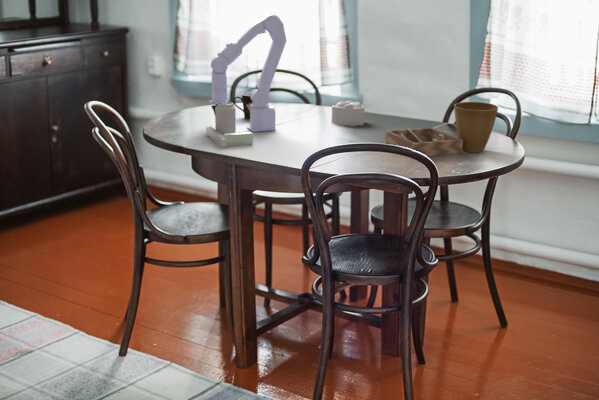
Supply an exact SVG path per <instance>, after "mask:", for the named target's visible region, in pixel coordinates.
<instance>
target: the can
mask: <svg viewBox="0 0 599 400" xmlns="http://www.w3.org/2000/svg"><path fill="white" fill-rule="evenodd" d="M220 103H221V104H220ZM220 103H217V106H216V107H215V114H214V116H215V117H214V118H215V124H214V125H215V130H216V131H218V132H219V133H220V134H221V135H223V136H224V134H230V133H237V132H236V131H237V130H236V128H237V127H236V126H237V124H236V106H235V105H234V103H233V102H229V101H228V102H220ZM226 103H227V104H226ZM222 104H224V105H222Z"/></svg>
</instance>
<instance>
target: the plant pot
mask: <svg viewBox="0 0 599 400" xmlns="http://www.w3.org/2000/svg"><path fill="white" fill-rule="evenodd" d="M453 108H454V118H455V125H456V132H457V136H458V137H457V138H459V139H462V140H463V146H462V151H463V150H464V152H465V151H467V152H466V153H471V152H479V153H482V152H484V150H485V148H486V145H487V143H488V142H489V139H490V136H491V135H492V131H493V128H494V126H495V122H496V118H497V114H498V110H499V106H498V105H496V104H493V103H490V102H480V101H464V102H463V101H462V102H457V103H454V104H453Z"/></svg>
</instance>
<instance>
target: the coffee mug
mask: <svg viewBox="0 0 599 400" xmlns="http://www.w3.org/2000/svg"><path fill="white" fill-rule="evenodd" d="M250 93H251V92H243V93H241V97H240V96H236V97H233V99H232V100H233V101H232V103H233V106H234V107H235V108H238V110H240V111H242V113H243V117H244V119H245V120H249V121H250V105H251V104H252V102H253V101H252V100H251V98H250ZM236 99H239V100H240V101H241V102H242V107H243V108H241V107H240V106H238V105H237V104H236V103H235V100H236Z"/></svg>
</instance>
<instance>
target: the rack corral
mask: <svg viewBox="0 0 599 400" xmlns="http://www.w3.org/2000/svg"><path fill="white" fill-rule="evenodd" d="M408 129H410V130H411V131H412V132H413V133H414V134H415V135H416V136H417V137H418V138H419V139H420V140H421V141H422V142H420V141H419V140H418V139H417V138H416V137H415V136H414V135H413V134H412V133H410V132H409V131H408ZM401 134H403V135H404V136H405V138H403V137H402V136H401ZM439 134H442V135H444V141H443V137H441V136H439ZM384 136H385V137H384V144H385V143H386V144H393V145H399V146H404V147H408V148H411V149H413V150H416V151H419V152H421V153H423V154H425V155H427V156H428V157H427V158H432V157H433V156H434V157H442V156H441V155H445V156H451V155H450V154H457V155H462V154H463V150H462V146H463V140H462V139H459V137H457V136H454V135H451V134H449V133H446V132H444V131H442V130H439V129H436V128H433V127H423V128H407V129H394V130H385V135H384ZM433 139H436V140H438V141H433ZM461 153H462V154H461ZM429 156H430V157H429Z"/></svg>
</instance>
